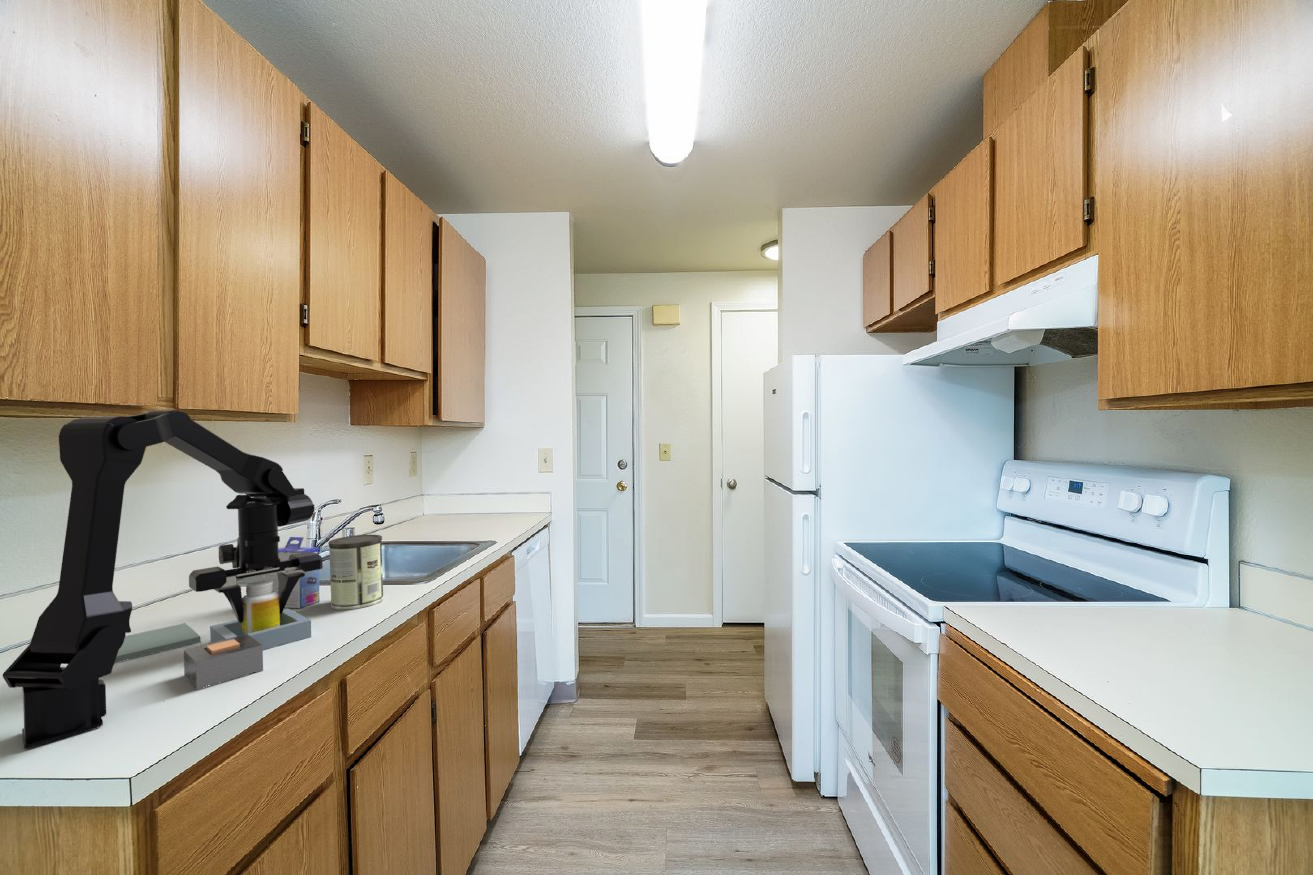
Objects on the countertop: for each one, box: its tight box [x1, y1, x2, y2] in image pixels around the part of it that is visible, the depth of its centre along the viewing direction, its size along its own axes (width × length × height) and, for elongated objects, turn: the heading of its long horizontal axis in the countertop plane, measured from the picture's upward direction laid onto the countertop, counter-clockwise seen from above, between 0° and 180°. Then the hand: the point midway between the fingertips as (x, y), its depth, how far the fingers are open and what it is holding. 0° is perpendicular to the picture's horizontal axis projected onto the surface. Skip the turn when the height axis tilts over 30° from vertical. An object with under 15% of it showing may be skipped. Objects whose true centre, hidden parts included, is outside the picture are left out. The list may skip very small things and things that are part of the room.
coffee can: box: [328, 534, 384, 611], centre depth 118 cm, size 10×10×14 cm
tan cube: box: [206, 639, 240, 655], centre depth 83 cm, size 3×3×3 cm
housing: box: [209, 607, 312, 651], centre depth 97 cm, size 12×12×3 cm
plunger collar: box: [183, 634, 264, 690], centre depth 83 cm, size 8×8×4 cm
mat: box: [114, 622, 202, 664], centre depth 96 cm, size 12×12×1 cm
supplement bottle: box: [242, 580, 280, 635], centre depth 97 cm, size 6×6×10 cm
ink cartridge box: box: [262, 536, 320, 609], centre depth 118 cm, size 10×6×14 cm, turn 78°
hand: (260, 617), depth 97 cm, fingers closed on supplement bottle, 6 cm apart
